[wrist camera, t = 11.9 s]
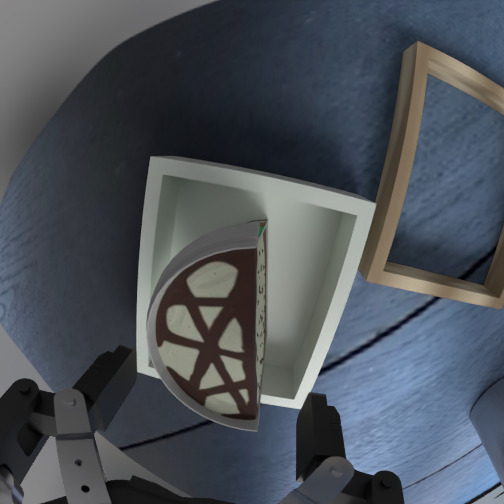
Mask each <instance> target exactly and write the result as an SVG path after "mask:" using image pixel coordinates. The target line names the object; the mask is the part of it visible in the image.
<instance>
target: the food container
mask: <svg viewBox="0 0 504 504" xmlns="http://www.w3.org/2000/svg"><path fill="white" fill-rule="evenodd" d="M267 320H268V220H255V221H250V222H247V223H244V224H237V225H233V226H228V227H224V228H220V229H217V230H215V231H213V232H210V233H208V234H205V235H203V236H201V237H199V238H198V239H196V240H195V241H193V242H191V243H190V244H188V245H187V246H185V247H184V248H183V249H182V250H181V251H180V252H179V253H178V254H177V255H176V256H175V257H173V259H172V260H171V261H170V263H169V264H168V265H167V267H166V268H165V269H164V271H163V272H162V274H161V276H160V278H159V280H158V282H157V285H156V287H155V289H154V292H153V295H152V297H151V300H150V304H149V308H148V312H147V322H146V331H147V336H146V337H147V344H148V351H149V354H150V357H151V360H152V363H153V366H154V368H155V370H156V372H157V373H158V375H159V377H160V379H161V380H162V381H163V383H164V384H165V386H166V387H167V388H168V389H169V390H170V391H171V392H172V394H173V395H174V396H175V397H176V398H177V399H178V400H180V401H181V402H182V403H183V404H185V405H186V406H187V407H188V408H190V409H191V410H193V411H195V412H196V413H198V414H199V415H201V416H203V417H205V418H207V419H209V420H212V421H214V422H216V423H219V424H222V425H225V426H228V427H232V428H237V429H242V430H248V431H257V428H258V423H259V416H260V411H259V410H260V401H261V391H262V381H263V371H264V361H265V351H266V340H267Z"/></svg>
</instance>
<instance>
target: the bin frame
mask: <svg viewBox="0 0 504 504" xmlns="http://www.w3.org/2000/svg"><path fill="white" fill-rule="evenodd" d="M427 73H428V74H430V75H432V76H434V77H436V78H438V79H440V80H442V81H445V82H447V83H449V84H450V85H452V86H454V87H456V88H458V89H460V90H462V91H464V92H466V93H467V94H469V95H471V96H473V97H474V98H476V99H478V100H480V101H481V102H483V103H485V104H486V105H488V106H490V107H491V108H493V109H494V110H496V111H498V112H499V113H501V114H502V115H504V89H503V88H502V87H500V86H499V85H497V84H496V83H494V82H493V81H491V80H490V79H488V78H487V77H485V76H483V75H482V74H480V73H479V72H477V71H475V70H474V69H472V68H470V67H468V66H467V65H465V64H463V63H461V62H459V61H458V60H456V59H454V58H452V57H450V56H448V55H446V54H444V53H442V52H440V51H438V50H436V49H434V48H432V47H430V46H428V45H426V44H424V43H421V42H419V41H417V42H415V43H414V44H413V45H412V46H410V47H409V48H408V49H406V50H405V51H404V52H403V55H402V64H401V72H400V80H399V87H398V93H397V100H396V106H395V112H394V118H393V123H392V129H391V134H390V139H389V144H388V149H387V154H386V158H385V163H384V167H383V172H382V176H381V180H380V184H379V189H378V193H377V197H376V200H375V203H376V208H375V212H374V215H373V219H372V223H371V226H370V230H369V233H368V237H367V240H366V243H365V247H364V250H363V253H362V257H361V260H360V263H359V266H358V270H359V271H360V273H361V274H362V276H363V277H364V279H365V280H366V281H367V282H371V283H376V284H381V285H385V286H390V287H395V288H400V289H404V290H409V291H414V292H419V293H423V294H428V295H433V296H438V297H442V298H447V299H452V300H457V301H462V302H467V303H471V304H476V305H481V306H486V307H491V308H496V309H500V310H502V307H503V305H504V225H503V228H502V232H501V235H500V239H499V242H498V245H497V248H496V251H495V254H494V257H493V260H492V263H491V266H490V269H489V272H488V274H487V277H486V280H485V282H484V285H480V284H476V283H472V282H468V281H465V280H461V279H457V278H453V277H449V276H445V275H441V274H437V273H433V272H429V271H425V270H421V269H417V268H413V267H409V266H405V265H401V264H396V263H392V262H388V261H387V258H388V254H389V251H390V248H391V245H392V242H393V239H394V235H395V232H396V228H397V225H398V221H399V218H400V214H401V211H402V207H403V203H404V199H405V195H406V191H407V187H408V183H409V179H410V175H411V170H412V166H413V161H414V156H415V151H416V146H417V141H418V136H419V130H420V124H421V118H422V112H423V105H424V98H425V90H426V82H427Z"/></svg>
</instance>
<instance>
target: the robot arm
mask: <svg viewBox="0 0 504 504" xmlns="http://www.w3.org/2000/svg"><path fill="white" fill-rule="evenodd" d="M136 378H137V353H136V350H135V349H132V348H129V347H127V346H124V345H119V346H118V348H117V349H116V350H115V351H114V352H113V353H112V352H109V351H107V352H106V353H104V354H102V355H100V356H99V357H98V358H97V359H96V360H95V361H94V363H93V364H92V365H91V366H90V367H89V369H88V370H87V371H86V372H85V373H84V374H83V375H82V377H81V378H80V379H79V380H78V381H77V383H76V384H75V385H74V386H73V387H72V388H65V389H62V390H60V391H58V392H57V393H51V392H46V391H42V390H39V388H38V385H37V384H36V383H35V382H34V381H33V380H31V379H26V378H24V379H19V380H17V381H15V382H14V383H13V384H12V385H11V387H10V388H9V389H8V390H7V391H6V392H5V393H4V395H3V396H2V397H1V398H0V504H22V501H23V497H24V492H23V489H22V487H21V486H20V484H21V482H22V481H23V479H24V477H25V476H26V474H27V472H28V471H29V469H30V467H31V466H32V463H33V462H34V461H35V459H36V457H37V456H38V454H39V452H40V451H41V449H42V447H43V446H44V444H45V443H46V441H47V440H48V438H49V436H53V437H56V446H57V453H58V458H59V464H60V469H61V474H62V479H63V484H64V488H65V492H66V496H64V497H61V498H58V499H55V500H52V501H48V502H45V503H41V504H235V503H230V502H225V501H220V500H215V499H210V498H188V497H181V496H178V495H176V494H174V493H172V492H171V491H169V490H167V489H165V488H163V487H162V486H160V485H158V484H156V483H153V482H150V481H147V480H145V479H142V478H139V477H136V476H132V478H131V480H130V481H129V480H111V481H107V478H106V476H105V473H104V470H103V467H102V464H101V460H100V456H99V453H98V449H97V445H96V441H95V437H94V433H95V431H96V430H97V429H99V430H102V431H104V432H105V431H106V429H107V428H108V426H109V424H110V423H111V421H112V419H113V418H114V416H115V415H116V413H117V411H118V410H119V408H120V407H121V405H122V403H123V402H124V400H125V398H126V397H127V395H128V394H129V392H130V390H131V389H132V387H133V386H134V384H135V381H136ZM470 420H471V422H472V424H473V426H474V428H475V430H476V432H477V434H478V435H479V437H480V440H481V442H482V444H483V446H484V448H485V449H486V451H487V454H488V456H489V458H490V460H491V462H492V464H493V466H494V468H495V470H496V472H497V475H498V477H499V479H500V481H501V483H502V486H503V488H504V378H502V379H501V380H499V381H498V382H496V383H495V384H494V385H492V386H491V387H490V388H489V389H488V390H487V391H486V392H485V393H484V394H483V395H482V396H481V397H480V399H479V400H478V401H477V402H476V404H475V406H474V407H473V409H472V411H471V415H470ZM296 482H303V483H302V484H301V485H300V486H299V487H298V488H296V489H294V490H293V491H291V492H290V493H289V494H288V495H287V496H286V497H285V498H283V499H282V500H281V501H280V502H279V503H278V504H404V498H403V491H402V485H401V481H400V479H399V477H398V476H397V475H396V474H394V473H393V472H390V471H379V472H377V473H376V474H375V475H374V476H373V475H370V474H366V473H363V472H359V471H357V470H355V469H354V467H353V465H352V464H351V463H350V462H349V461H348V460H347V459H346V455H345V448H344V441H343V434H342V427H341V420H340V415H339V413H338V412H337V410H336V408H335V407H334V406H327V399H326V395H325V394H319V393H312V392H309V393H308V395H307V397H306V399H305V401H304V404H303V406H302V408H301V410H300V412H299V415H298V418H297V424H296Z"/></svg>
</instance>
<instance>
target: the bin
mask: <svg viewBox="0 0 504 504" xmlns="http://www.w3.org/2000/svg"><path fill="white" fill-rule="evenodd" d="M375 208H376V203H374V202H372V201H370V200H368V199H366V198H364V197H362V196H360V195H358V194H355V193H351V192H347V191H344V190H340V189H336V188H332V187H328V186H324V185H320V184H316V183H312V182H308V181H304V180H299V179H295V178H291V177H286V176H282V175H277V174H272V173H268V172H263V171H258V170H253V169H248V168H243V167H238V166H232V165H227V164H222V163H216V162H210V161H204V160H198V159H192V158H186V157H179V156H151V157H150V164H149V170H148V177H147V185H146V192H145V201H144V209H143V219H142V229H141V240H140V253H139V269H138V290H137V372H140V373H143V374H146V375H150V376H153V377H156V378H159V379H160V377H159V375H158V373H157V372H156V370H155V368H154V366H153V363H152V360H151V357H150V354H149V351H148V344H147V337H146V336H147V331H146V322H147V312H148V308H149V304H150V300H151V297H152V295H153V292H154V289H155V287H156V285H157V282H158V280H159V278H160V276H161V274H162V272H163V271H164V269H165V268H166V267H167V265H168V264H169V263H170V261H171V260H172V259H173V257H175V256H176V255H177V254H178V253H179V252H180V251H181V250H182V249H183V248H184V247H185V246H187V245H188V244H190V243H191V242H193V241H195V240H196V239H198V238H199V237H201V236H203V235H205V234H208V233H210V232H213V231H215V230H217V229H220V228H224V227H228V226H233V225H237V224H244V223H247V222H250V221H255V220H268V320H267V340H266V351H265V361H264V371H263V381H262V391H261V401H260V403H265V404H271V405H277V406H283V407H290V408H297V409H301V408H302V406H303V404H304V401H305V399H306V397H307V395H308V393H309V392H311V389H312V387H313V385H314V383H315V380H316V378H317V376H318V373H319V371H320V369H321V366H322V364H323V362H324V359H325V357H326V354H327V352H328V349H329V347H330V344H331V342H332V339H333V337H334V334H335V332H336V329H337V326H338V324H339V321H340V318H341V316H342V313H343V310H344V307H345V304H346V302H347V299H348V296H349V293H350V290H351V287H352V284H353V281H354V278H355V275H356V272H357V269H358V266H359V263H360V260H361V257H362V253H363V250H364V247H365V243H366V240H367V237H368V233H369V230H370V226H371V223H372V219H373V215H374V212H375Z"/></svg>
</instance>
